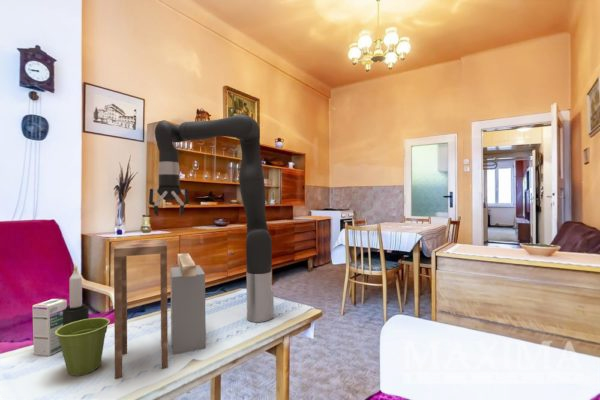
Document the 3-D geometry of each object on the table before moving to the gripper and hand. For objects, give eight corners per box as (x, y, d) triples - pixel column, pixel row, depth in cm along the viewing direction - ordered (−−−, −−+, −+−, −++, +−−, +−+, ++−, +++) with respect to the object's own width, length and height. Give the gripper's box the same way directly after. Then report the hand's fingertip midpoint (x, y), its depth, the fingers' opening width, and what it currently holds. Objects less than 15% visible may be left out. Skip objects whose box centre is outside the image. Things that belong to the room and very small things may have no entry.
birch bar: (188, 261, 112) (188, 253, 112) (196, 275, 90) (195, 265, 90) (177, 262, 110) (177, 253, 110) (182, 277, 88) (182, 266, 88)
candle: (90, 349, 92) (90, 265, 92) (72, 357, 87) (71, 268, 87) (80, 346, 94) (79, 263, 94) (61, 354, 89) (60, 267, 89)
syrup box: (49, 356, 88) (48, 305, 88) (32, 354, 89) (32, 304, 89) (68, 347, 93) (67, 299, 93) (52, 345, 95) (51, 298, 95)
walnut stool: (166, 343, 95) (165, 239, 95) (167, 367, 81) (166, 245, 81) (121, 352, 90) (120, 241, 90) (114, 379, 76) (113, 248, 76)
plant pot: (96, 353, 89) (95, 314, 89) (119, 364, 83) (119, 322, 83) (46, 373, 79) (45, 329, 79) (68, 387, 73) (68, 339, 73)
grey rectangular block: (199, 330, 105) (199, 265, 105) (205, 348, 92) (205, 273, 92) (171, 335, 101) (170, 267, 101) (172, 354, 88) (172, 277, 88)
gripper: (148, 172, 115) (148, 216, 115) (189, 173, 121) (189, 215, 121) (149, 174, 122) (149, 215, 122) (187, 175, 128) (187, 214, 128)
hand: (169, 215), depth 121 cm, fingers open, 8 cm apart
